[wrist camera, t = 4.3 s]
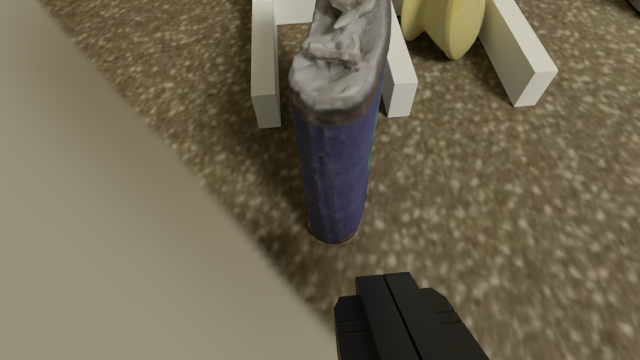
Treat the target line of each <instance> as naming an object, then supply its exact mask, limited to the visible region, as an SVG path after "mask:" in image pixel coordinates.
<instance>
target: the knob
mask: <svg viewBox="0 0 640 360" xmlns="http://www.w3.org/2000/svg"><path fill="white" fill-rule="evenodd" d="M484 11H485V0H403V5H402V11H401V29H402V33H403V36H404V38H405V39H406V40H407V41H412V40H414V39H415V38H417V37H418V36H419V35H420V34H421V33H422V32H424V31H426V32H427V33H428V34H429V36H430V37H431V38H432V40H433V41H434V42H435V43H436V44H437V45H438V46H439V47H440V48H441V49H442V50H443V51H444V52H445V54H446V56H447V57H448V58H449V59H452V60H458V59H460V58H461V57H462V56H463V55H464V54H465V53H466V52H467V51H468V50H469V48H470V47H471V46H472V44H473V43H474V41H475V40H476V38H477V35H478V33H479V30H480V27H481V24H482V20H483V16H484Z"/></svg>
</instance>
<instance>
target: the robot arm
mask: <svg viewBox="0 0 640 360" xmlns="http://www.w3.org/2000/svg"><path fill="white" fill-rule="evenodd" d="M629 2H630V3H631V5H632V6H634V7H635V8H636V9H637V10H638V11H639V12H640V0H629ZM355 286H356V295H353V296H343V297H339V299H338V301H337V303H336V305H335V307H334V318H335V330H336V343H337V355H338V360H489V358H488V357H487V355H486V354H485V353H484V351H483V350H482V348H481V347H480V346H479V344H478V343H477V341H476V340H475V338H474V337H473V336H472V334H471V333H470V331H469V330H468V329H467V327H466V326H465V324H464V323H462V320H461V319H460V317H459V316H458V314H457V313H456V312H455V311H454V309H453V307H452V306H451V304H450V303H449V302H448V300H447V299H446V297H444V296H443V295H441V294H440V293H438V292H437V291H435V290H434V289H432V288H422V289H419V287H418V285H417V284H416V282H415V280H414V279H413V277H412V275H411V274H410V272H400V273H390V274H383V275H381V274H380V275H370V276H360V277H356V278H355Z"/></svg>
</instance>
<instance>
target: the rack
mask: <svg viewBox="0 0 640 360" xmlns="http://www.w3.org/2000/svg"><path fill="white" fill-rule="evenodd" d="M315 3H316V0H252V54H251V99H252V102H253V106H254V110H255V114H256V118H257V122H258V125H259V129H260V128H272V127H281V117H280V94H279V70H278V46H277V25H283V24H296V23H309V22H312V19H313V14H314V9H315ZM402 5H403V0H391V10H392V16H391V37H390V45H389V51H388V54H387V60H386V66H385V70H384V76H383V85H382V91H381V93H382V97H383V101H384V105H385V109H386V113H387V117H388V118H390V117H402V116H409V114H410V110H411V107H412V103H413V99H414V96H415V92H416V89H417V85H418V80H417V77H416V74H415V71H414V68H413V65H412V62H411V59H410V56H409V53H408V50H407V47H406V44H405V40H404V37H403V34H402V31H401V28H400V25H399V22H398V19H397V16H399V15H401V11H402ZM478 37H479V39H480V41H481V43H482V45H483V47H484V49H485V51H486V53H487V55H488V57H489V59H490V61H491V63H492V65H493V67H494V69H495V71H496V73H497V75H498V77H499V79H500V81H501V83H502V85H503V87H504V89H505V91H506V93H507V95H508V97H509V99H510V101H511V103H512V104H513V106H514V107H520V106H531V105H535V104H536V102H537V101H538V100H539V98H540V97H541V95H542V94H543V92H544V91H545V89H546V88H547V87H548V85H549V84H550V82H551V81H552V79H553V78H554V77H555V75H556V74H557V72H558V69H557V68H556V66H555V64H554V63H553V61H552V60H551V58H550V57H549V55H548V53H547V52H546V50H545V49H544V47H543V46H542V44H541V42H540V41H539V39H538V38H537V36H536V34H535V33H534V31H533V30H532V28H531V27H530V25H529V23H528V22H527V20H526V19H525V17H524V16H523V14H522V12H521V11H520V9H519V8H518V6H517V5H516V3H515V1H514V0H485V11H484V16H483V20H482V24H481V27H480V30H479V33H478Z"/></svg>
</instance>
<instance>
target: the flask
mask: <svg viewBox="0 0 640 360" xmlns="http://www.w3.org/2000/svg"><path fill="white" fill-rule="evenodd" d="M391 16H392V10H391V0H316V3H315V9H314V14H313V19H312V23H311V26H310V29H309V32H308V35H307V38H306V40H305V42H304V43H303V44H302V46H301V49H300V51H299V52H298V53H297V54H296V55H295V56H294V59H293V64H292V66H291V68H290V71H289V75H288V79H287V80H288V86H289V93H290V104H291V109H292V113H293V124H294V126H295V128H296V139H297V147H298V149H299V158H300V162H301V174H302V179H303V185H304V191H305V194H306V204H307V208H308V218H309V223H308V225H309V228H310V230H311V232H312V233H313V235H314V236H315V237H316V238H317V239H318V242H319V243H325V244H333V245H342V244H345V243H349V242H350V241H351V240H352V239H353V238H354V236H355V235H356V234H357V233H358V232H357V231H358V227H359V226H360V224H361V222H362V220H363V217H364V216H363V214H364V209H365V204H366V200H367V198H368V194H367V191H368V189H369V181H370V179H369V172H370V162H371V155H372V147H373V140H374V133H375V128H376V121H377V116H378V110H379V102H380V97H381V91H382V85H383V76H384V70H385V66H386V60H387V54H388V51H389V45H390V37H391Z"/></svg>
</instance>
